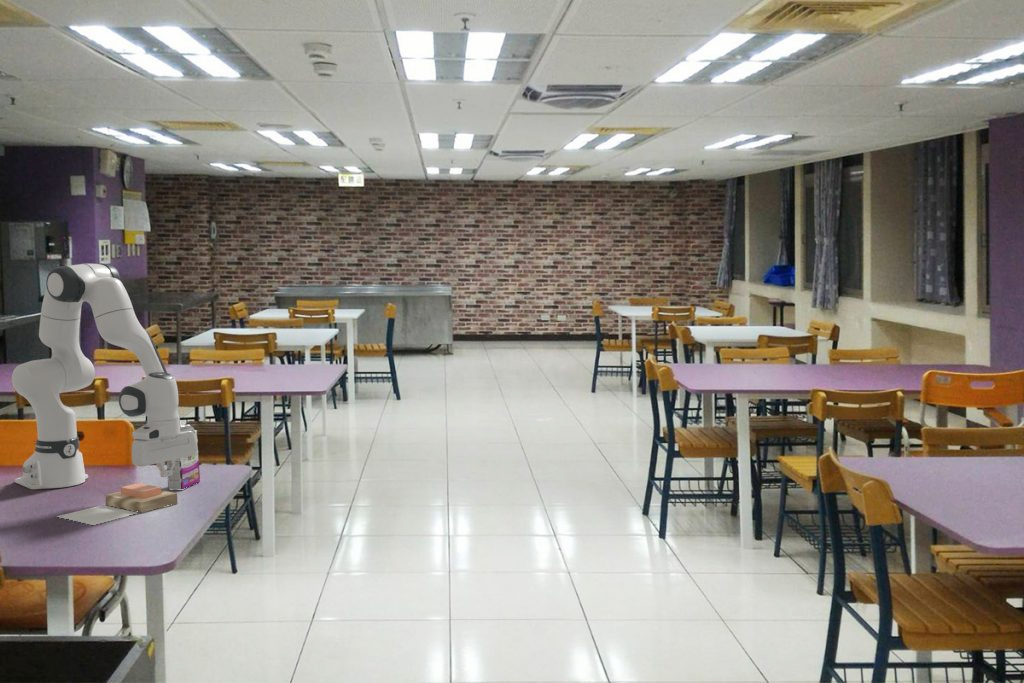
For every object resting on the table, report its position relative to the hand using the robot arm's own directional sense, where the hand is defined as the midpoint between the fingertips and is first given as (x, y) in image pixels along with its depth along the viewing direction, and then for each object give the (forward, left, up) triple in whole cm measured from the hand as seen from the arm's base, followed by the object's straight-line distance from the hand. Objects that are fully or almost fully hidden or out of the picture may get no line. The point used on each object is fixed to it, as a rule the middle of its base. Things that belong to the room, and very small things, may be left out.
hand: (166, 476), depth 301 cm
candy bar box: (-8, +12, -7) cm, 17 cm away
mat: (0, -23, -7) cm, 23 cm away
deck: (0, -9, -7) cm, 11 cm away
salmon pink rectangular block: (0, -9, -4) cm, 9 cm away
